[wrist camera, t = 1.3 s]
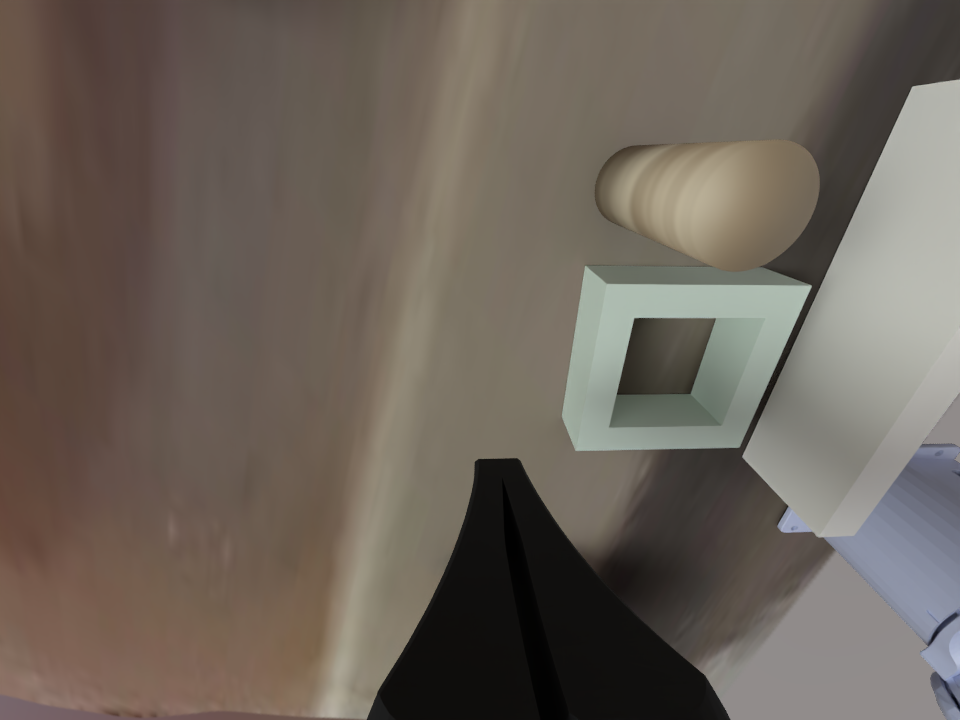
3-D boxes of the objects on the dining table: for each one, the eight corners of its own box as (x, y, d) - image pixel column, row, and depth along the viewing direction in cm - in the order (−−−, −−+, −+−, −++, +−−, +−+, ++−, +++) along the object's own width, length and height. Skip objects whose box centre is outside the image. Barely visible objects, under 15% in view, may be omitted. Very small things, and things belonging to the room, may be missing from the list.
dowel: (675, 146, 16) (842, 141, 9) (656, 225, 18) (788, 272, 11) (601, 144, 16) (715, 137, 9) (589, 224, 18) (678, 271, 11)
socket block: (762, 267, 19) (811, 285, 16) (707, 414, 23) (739, 447, 21) (585, 265, 18) (606, 284, 16) (561, 416, 23) (575, 450, 20)
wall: (957, 88, 16) (1207, 56, 11) (771, 456, 25) (854, 536, 20) (912, 86, 16) (1143, 52, 10) (742, 456, 25) (818, 537, 20)
